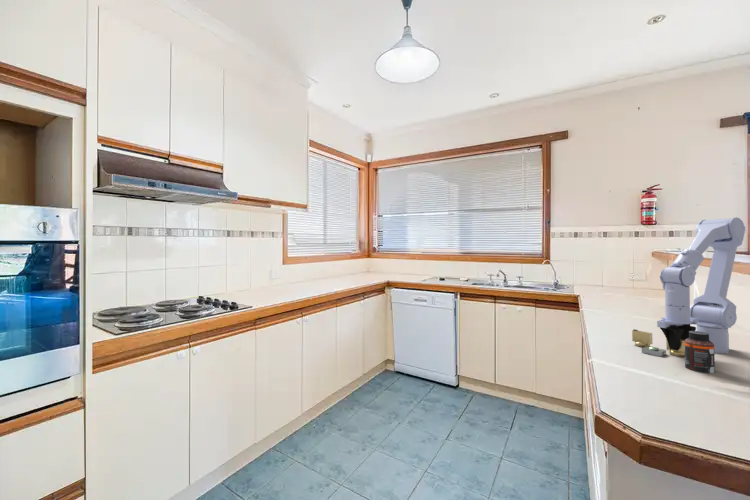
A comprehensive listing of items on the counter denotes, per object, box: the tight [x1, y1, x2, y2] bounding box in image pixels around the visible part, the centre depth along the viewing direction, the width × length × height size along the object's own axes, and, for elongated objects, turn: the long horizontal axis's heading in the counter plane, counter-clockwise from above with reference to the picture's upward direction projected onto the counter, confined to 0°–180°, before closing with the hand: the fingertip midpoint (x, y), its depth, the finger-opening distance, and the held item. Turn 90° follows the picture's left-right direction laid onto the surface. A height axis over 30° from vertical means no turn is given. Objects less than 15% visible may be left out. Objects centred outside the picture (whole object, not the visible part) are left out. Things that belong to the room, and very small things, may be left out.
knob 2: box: [665, 338, 685, 358], centre depth 104 cm, size 5×4×5 cm
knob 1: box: [631, 329, 654, 348], centre depth 114 cm, size 5×4×5 cm
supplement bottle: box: [684, 330, 716, 374], centre depth 92 cm, size 6×6×11 cm
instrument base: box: [641, 346, 667, 358], centre depth 108 cm, size 12×16×3 cm
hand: (678, 349), depth 104 cm, fingers closed on knob 2, 3 cm apart
